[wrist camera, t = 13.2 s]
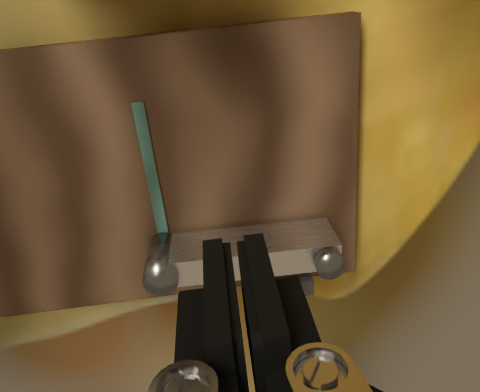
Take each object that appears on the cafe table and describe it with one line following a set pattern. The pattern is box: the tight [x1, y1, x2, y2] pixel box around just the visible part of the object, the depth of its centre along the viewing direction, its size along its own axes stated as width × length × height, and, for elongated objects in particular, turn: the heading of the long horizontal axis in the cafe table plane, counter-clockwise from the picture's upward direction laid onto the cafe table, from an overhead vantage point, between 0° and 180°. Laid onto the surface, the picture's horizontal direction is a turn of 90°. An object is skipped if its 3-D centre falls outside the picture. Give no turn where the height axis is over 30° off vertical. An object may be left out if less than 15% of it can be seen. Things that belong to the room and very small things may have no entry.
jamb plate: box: [0, 12, 361, 317], centre depth 31 cm, size 30×20×6 cm, turn 95°
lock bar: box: [142, 217, 346, 296], centre depth 32 cm, size 14×2×5 cm, turn 94°
